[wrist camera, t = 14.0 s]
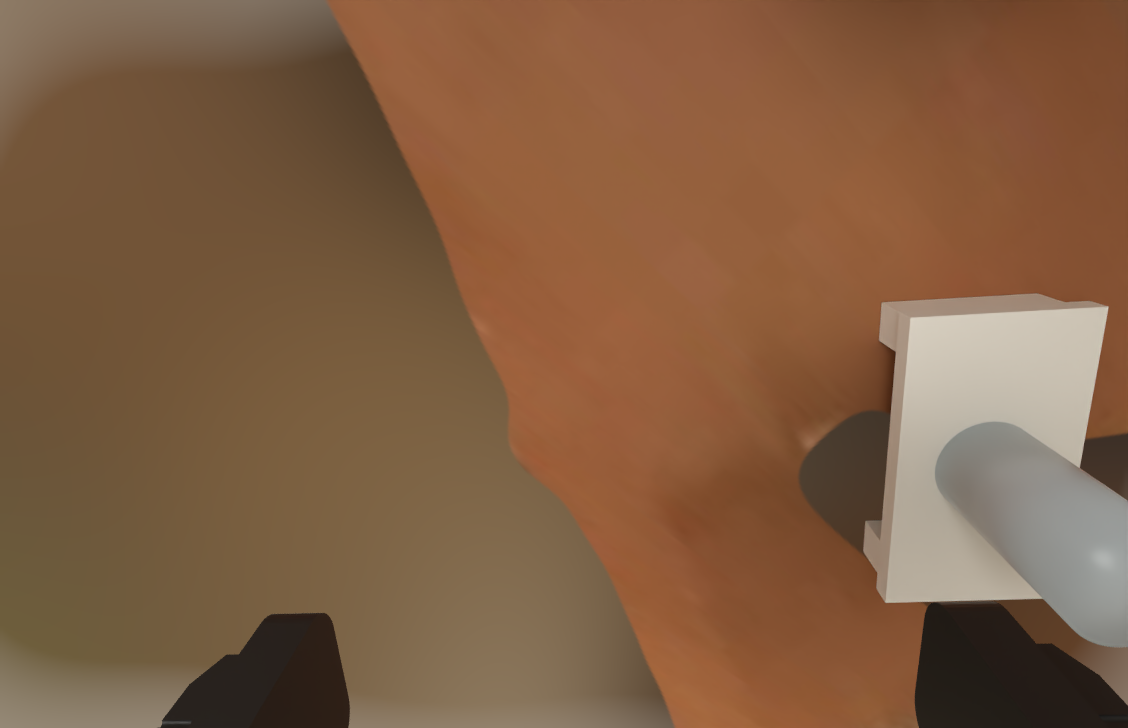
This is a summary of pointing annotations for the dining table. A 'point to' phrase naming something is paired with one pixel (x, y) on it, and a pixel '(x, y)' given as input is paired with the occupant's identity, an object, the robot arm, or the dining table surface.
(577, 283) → the dining table surface
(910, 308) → the white riser stand
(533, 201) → the dining table surface
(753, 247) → the dining table surface
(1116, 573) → the white rounded cylinder
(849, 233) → the dining table surface
